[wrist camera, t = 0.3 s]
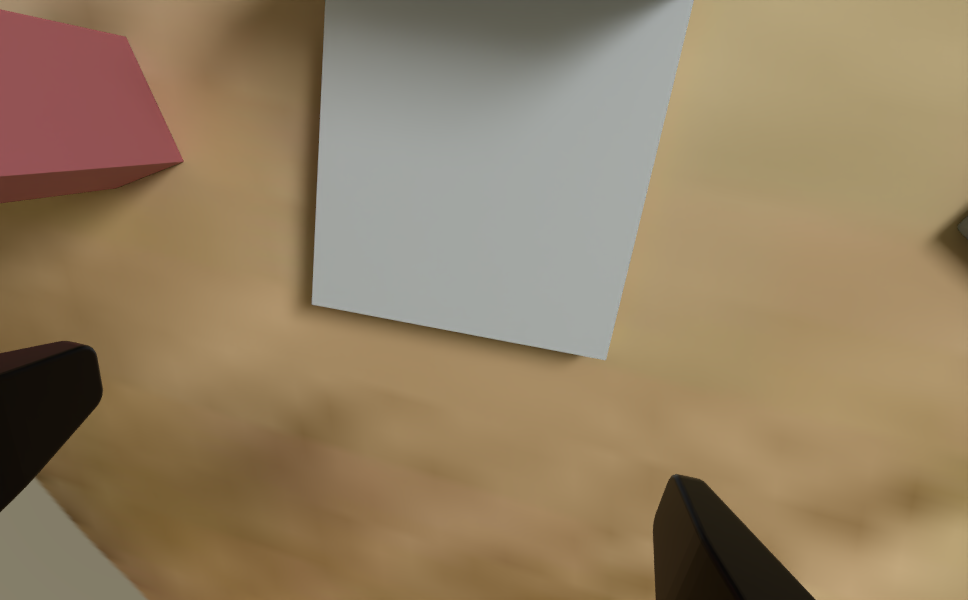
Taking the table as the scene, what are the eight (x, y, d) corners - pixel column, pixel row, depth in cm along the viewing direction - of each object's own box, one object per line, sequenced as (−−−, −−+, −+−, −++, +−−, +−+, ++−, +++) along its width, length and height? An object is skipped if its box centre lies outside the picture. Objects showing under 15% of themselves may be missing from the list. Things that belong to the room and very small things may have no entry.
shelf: (602, 345, 22) (623, 447, 15) (326, 293, 23) (223, 366, 16) (694, -39, 18) (787, -154, 10) (347, -83, 18) (216, -216, 11)
